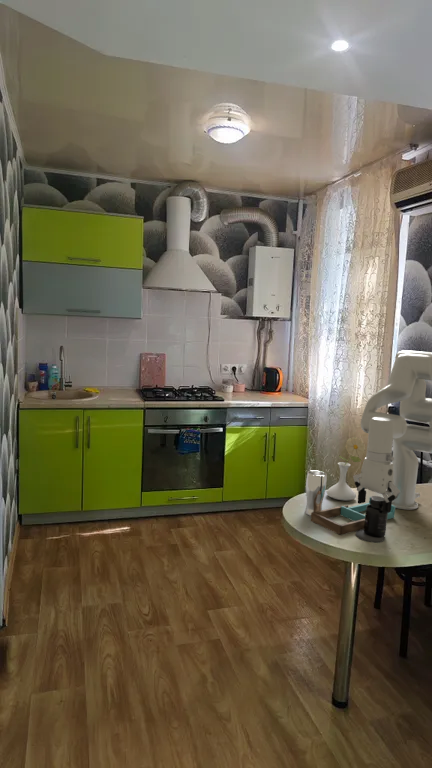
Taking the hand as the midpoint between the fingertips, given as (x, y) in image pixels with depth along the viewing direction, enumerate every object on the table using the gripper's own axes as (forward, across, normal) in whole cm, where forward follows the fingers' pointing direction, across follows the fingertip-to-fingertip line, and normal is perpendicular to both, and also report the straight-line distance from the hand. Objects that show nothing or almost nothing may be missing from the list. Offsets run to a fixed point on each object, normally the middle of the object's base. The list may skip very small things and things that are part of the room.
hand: (373, 507), depth 167 cm
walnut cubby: (+10, +12, 0) cm, 15 cm away
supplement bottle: (+9, 0, -1) cm, 9 cm away
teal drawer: (+10, +12, -12) cm, 20 cm away
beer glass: (+10, +23, +3) cm, 25 cm away
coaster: (+10, 0, +1) cm, 10 cm away
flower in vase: (+11, +30, -21) cm, 38 cm away
